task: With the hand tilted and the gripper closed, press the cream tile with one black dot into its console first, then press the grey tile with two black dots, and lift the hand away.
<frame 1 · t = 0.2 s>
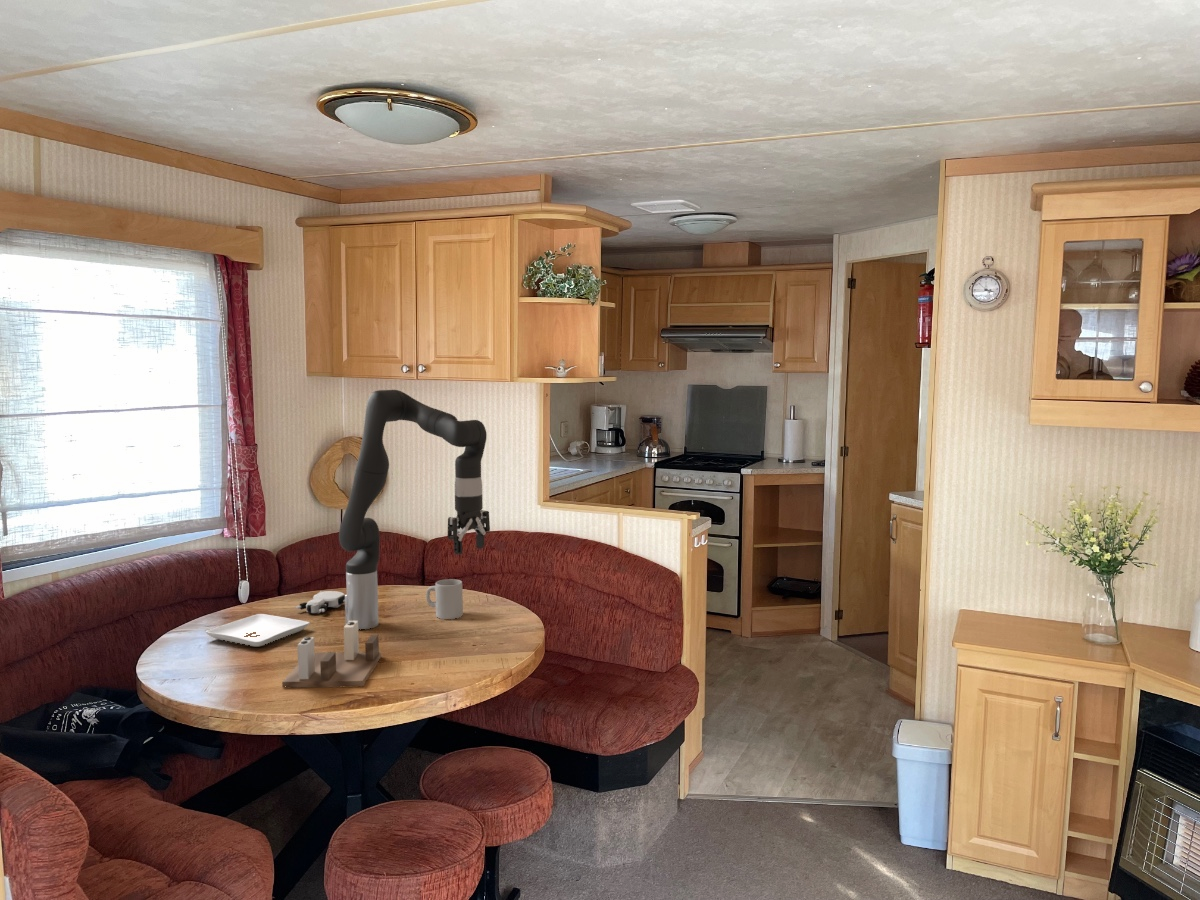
hand: (469, 551, 247), 29 cm above the table, tool pointing down, fingers open, 8 cm apart
console: (330, 671, 235), on the table
robot toy: (323, 610, 293), on the table
tile one: (351, 639, 242), point 6 cm above the table, slide at 0.0 cm
mug: (444, 616, 286), on the table
salad plate: (259, 637, 266), on the table
tile two: (306, 657, 228), point 6 cm above the table, slide at 0.0 cm
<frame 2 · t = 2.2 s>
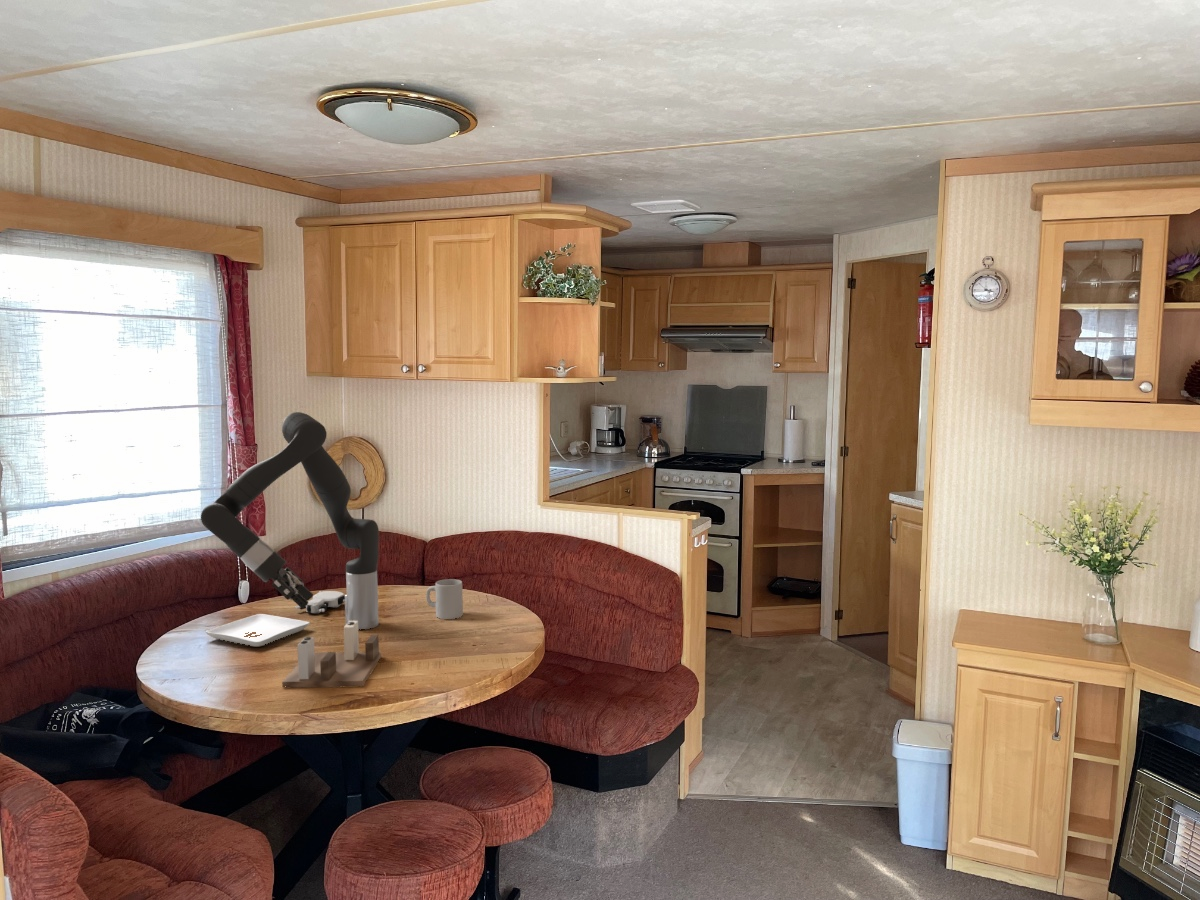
hand: (308, 601, 240), 17 cm above the table, tool tilted 45°, fingers open, 8 cm apart
nothing on the table moved.
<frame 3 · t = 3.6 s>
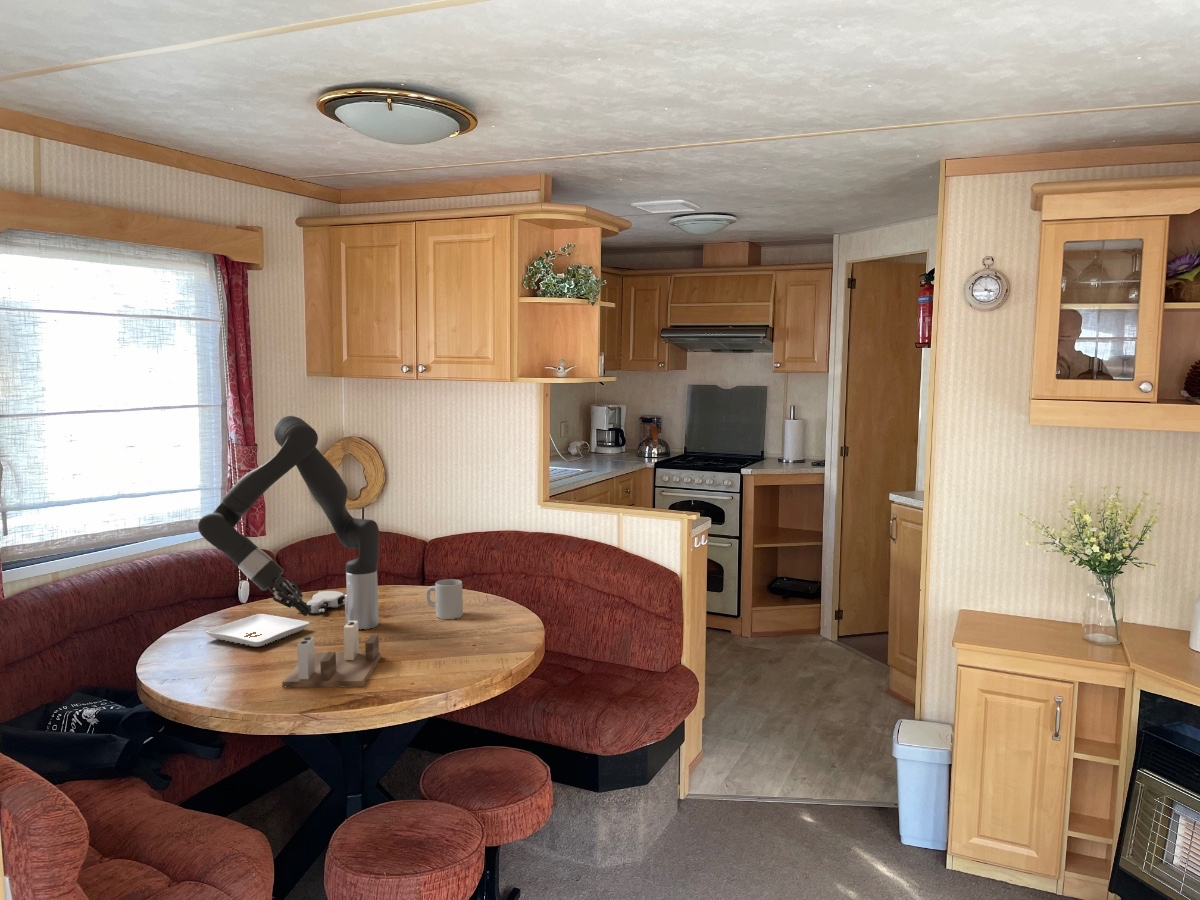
hand: (308, 613, 241), 14 cm above the table, tool tilted 45°, fingers closed
nothing on the table moved.
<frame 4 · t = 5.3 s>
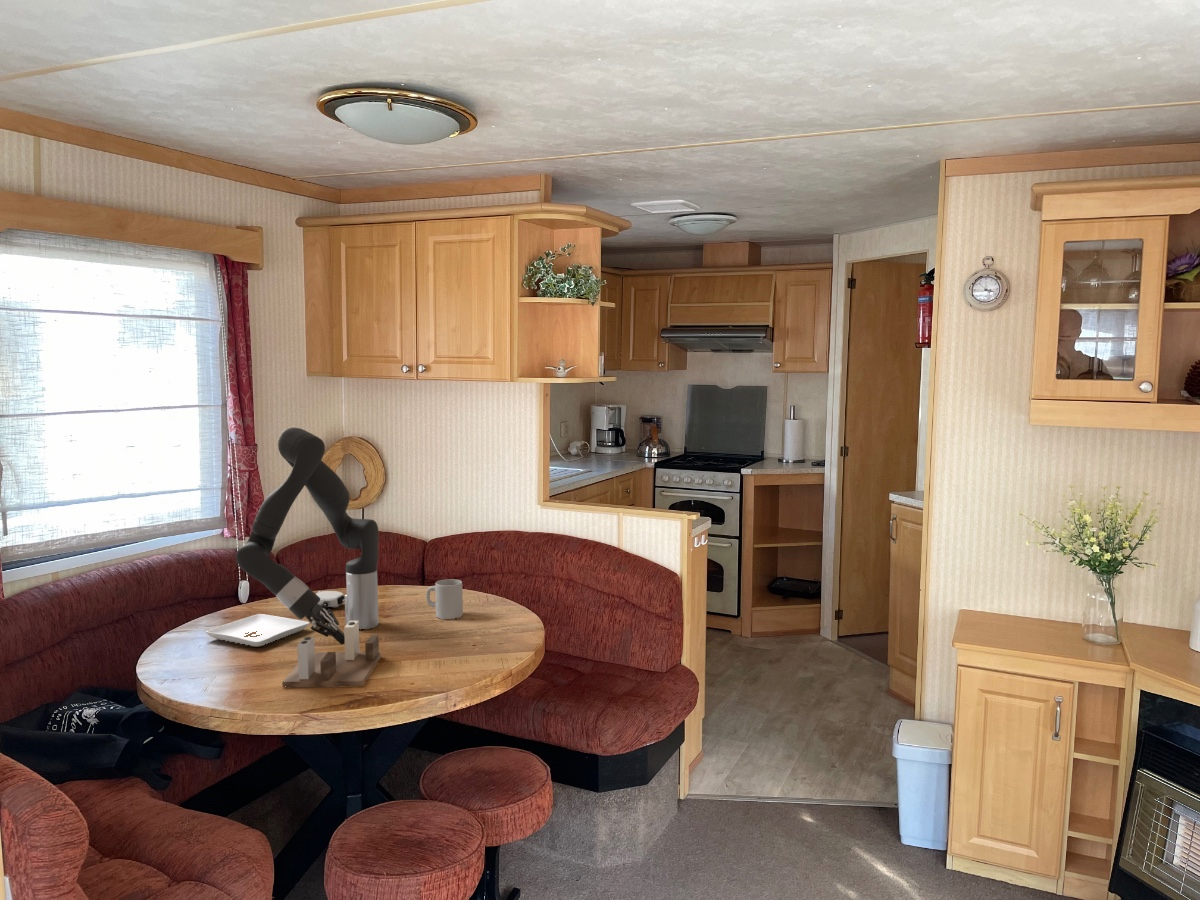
hand: (345, 641, 242), 6 cm above the table, tool tilted 45°, fingers closed
tile one: (351, 639, 242), point 6 cm above the table, slide at 0.2 cm, touching gripper
everything else where it was.
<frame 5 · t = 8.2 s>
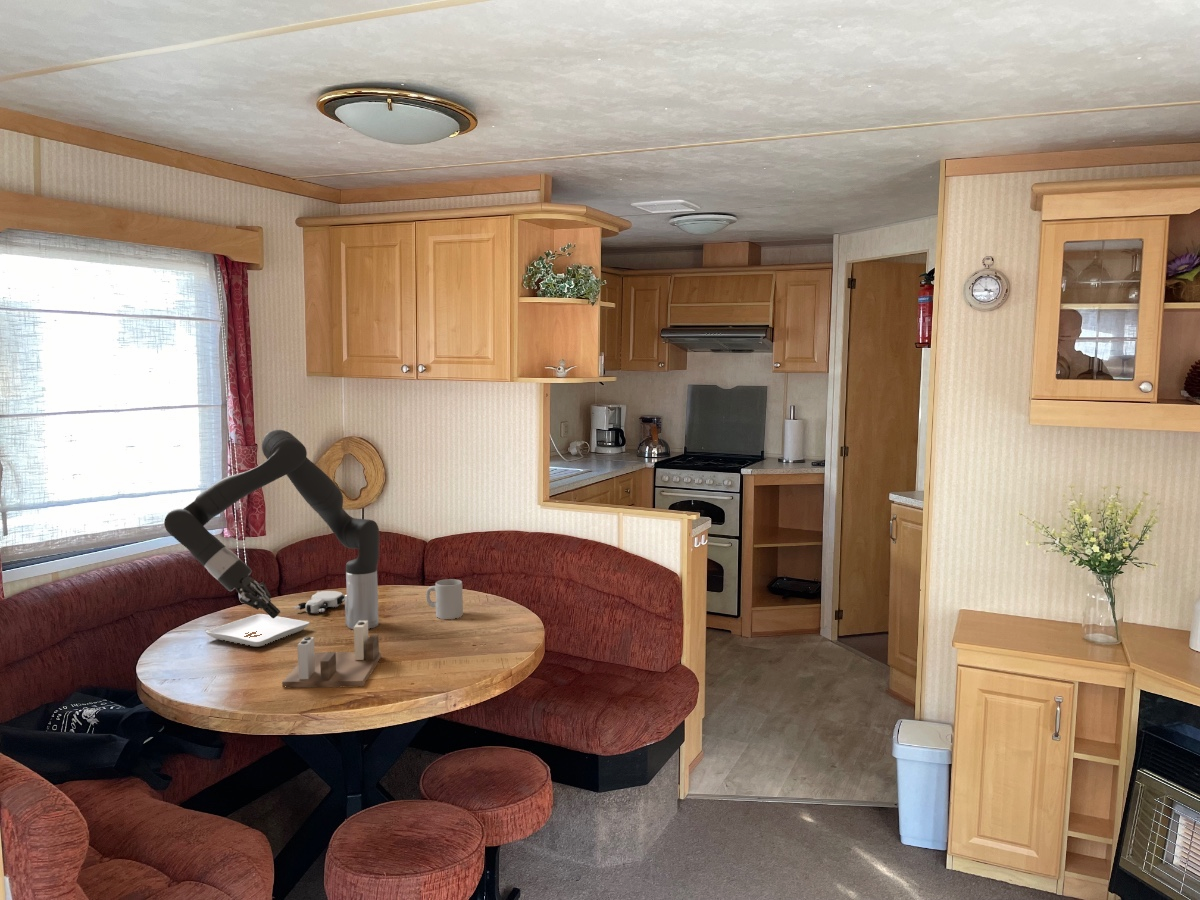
hand: (277, 615, 232), 16 cm above the table, tool tilted 45°, fingers closed
tile one: (361, 639, 242), point 6 cm above the table, slide at 2.7 cm
everything else where it was.
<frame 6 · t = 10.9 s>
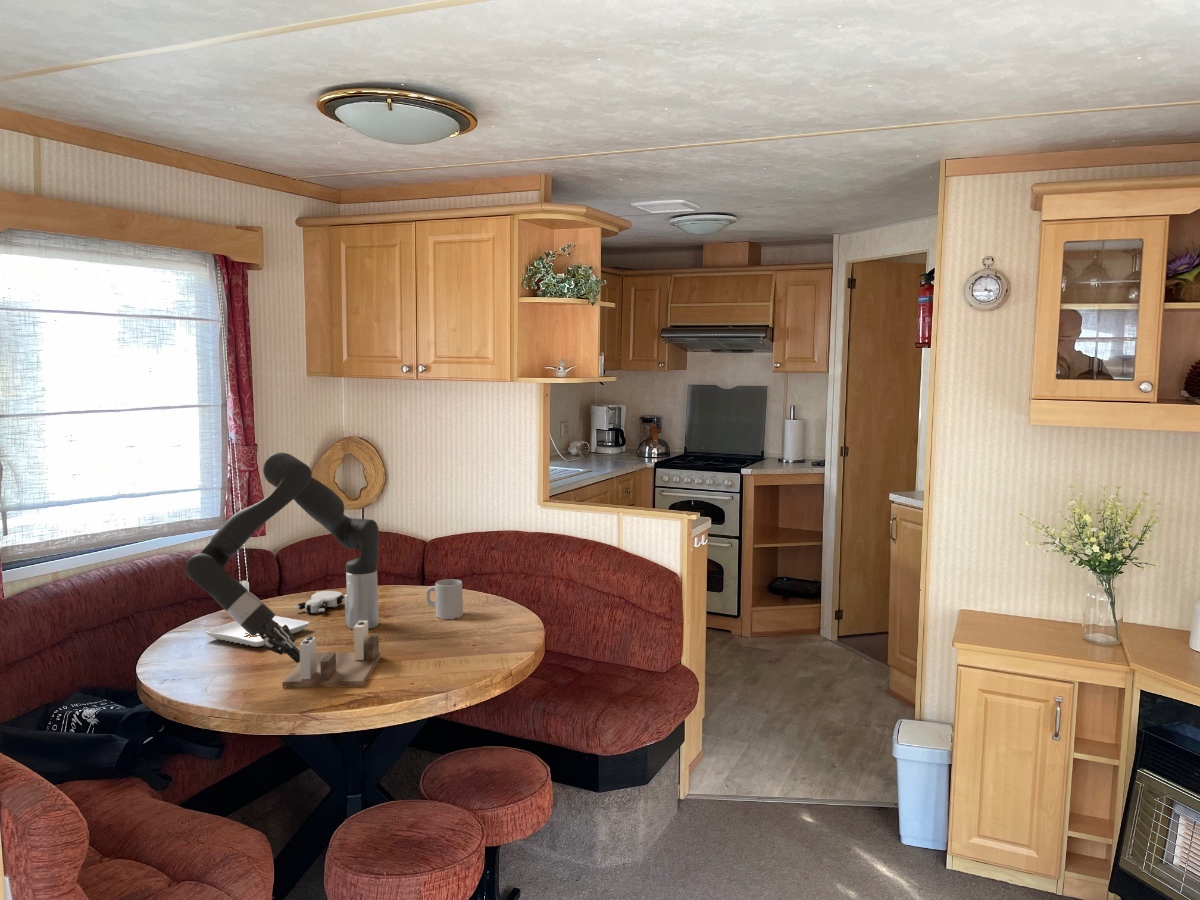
hand: (301, 659, 228), 6 cm above the table, tool tilted 45°, fingers closed
tile two: (308, 657, 228), point 6 cm above the table, slide at 0.5 cm, touching gripper
everything else where it was.
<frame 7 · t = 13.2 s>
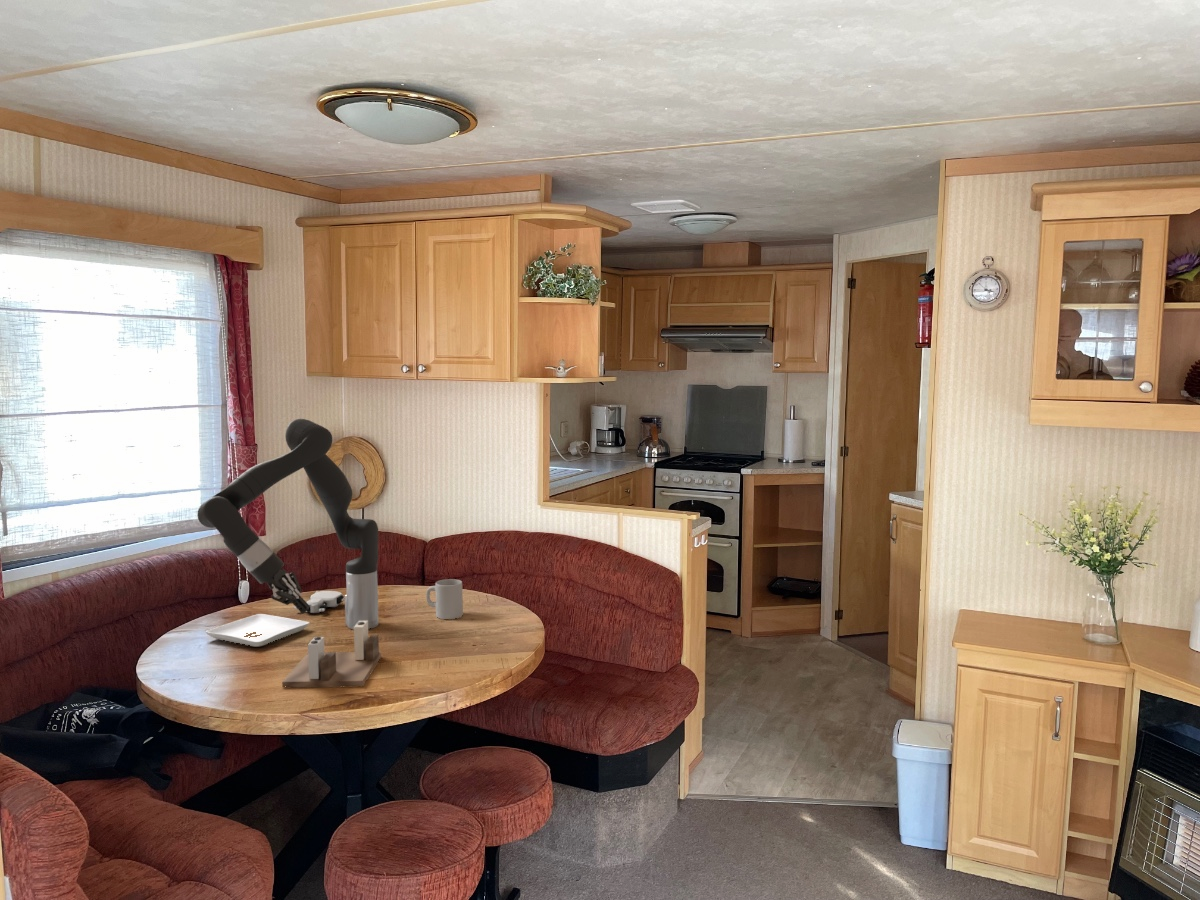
hand: (306, 610, 231), 17 cm above the table, tool tilted 40°, fingers closed
tile two: (316, 657, 228), point 6 cm above the table, slide at 2.6 cm
everything else where it was.
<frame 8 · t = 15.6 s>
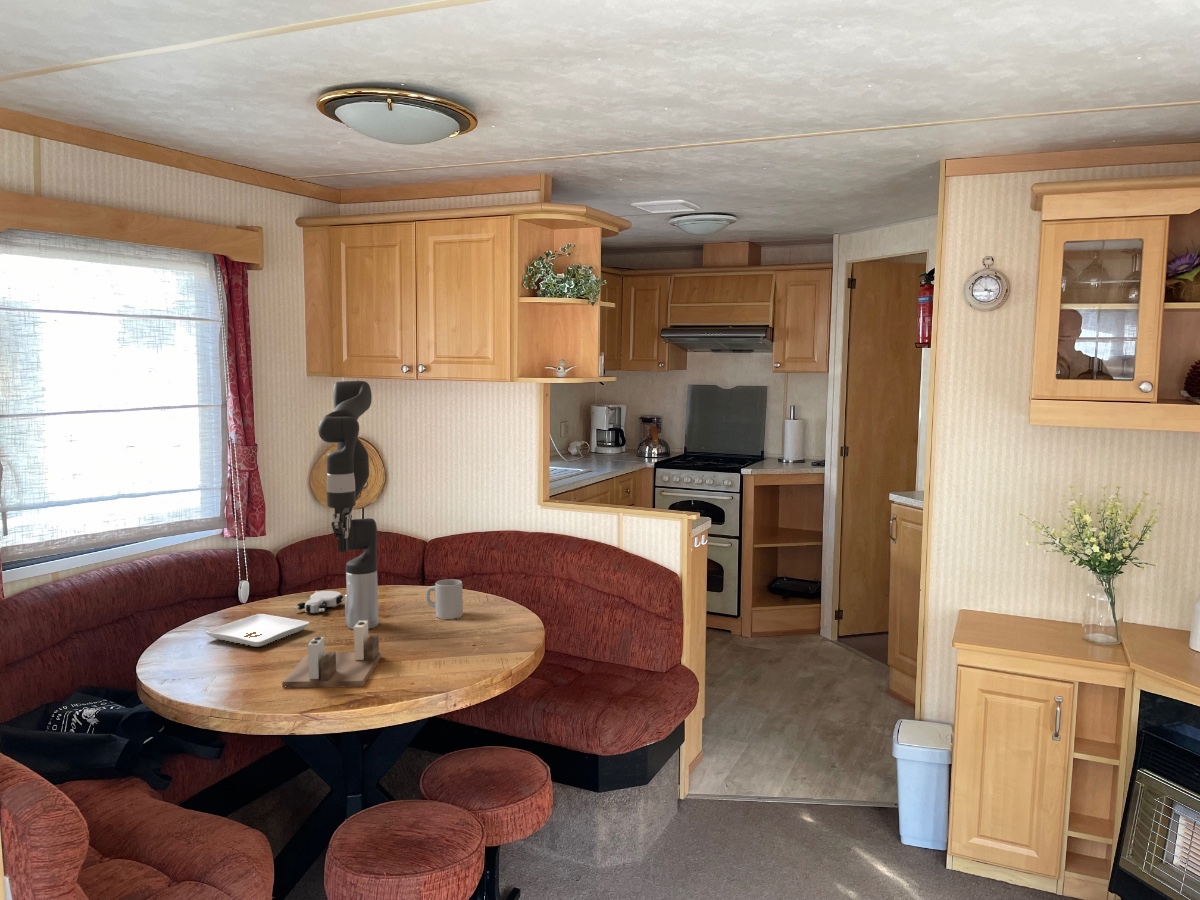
hand: (343, 551, 247), 29 cm above the table, tool pointing down, fingers closed
nothing on the table moved.
at the end: tile one slide at 2.7 cm; tile two slide at 2.6 cm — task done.
